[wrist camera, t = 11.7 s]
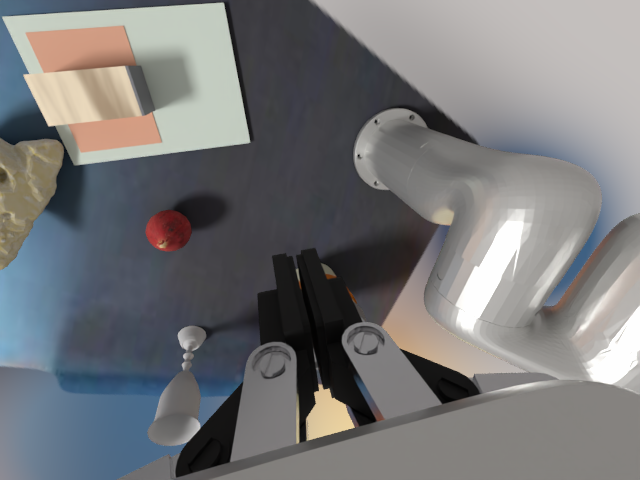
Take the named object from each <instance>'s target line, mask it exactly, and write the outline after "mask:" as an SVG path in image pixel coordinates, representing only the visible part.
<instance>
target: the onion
mask: <svg viewBox="0 0 640 480" xmlns="http://www.w3.org/2000/svg"><path fill="white" fill-rule="evenodd" d="M146 236H147V238H148V240H149V242H150V243H151V244H152V245H153V246H154V247H156V248H157V249H159V250H163V251H176V250H178V249H180V248H182V247H183V246H185V244H186V243H187V242H188V241H189V239H190V236H191V225H190V222H189V221H188V219H187V218H186V216H184V215H183V214H181V213H179V212H177V211H172V210H166V211H161V212H159V213H157V214H156V215H154V216H152V217H151V219H150V220H149V222H148V224H147V228H146Z"/></svg>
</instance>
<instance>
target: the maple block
mask: <svg viewBox="0 0 640 480" xmlns="http://www.w3.org/2000/svg"><path fill="white" fill-rule="evenodd" d="M23 76H24V78H25V80H26V82H27V84H28V86H29V88H30V90H31V92H32V94H33V96H34V98H35V100H36V102H37V104H38V106H39V108H40V110H41V112H42V114H43V116H44V118H45V120H46V122H47V124H48V126H56V125H65V124H74V123H83V122H92V121H101V120H110V119H119V118H128V117H137V116H145V115H147V114H149V113H151V112H153V111H155V107H154V104H153V101H152V98H151V95H150V92H149V89H148V86H147V83H146V80H145V76H144V73H143V70H142V67H141V66H118V67H106V68H95V69H84V70H72V71H61V72H50V73H39V74H27V75H23Z"/></svg>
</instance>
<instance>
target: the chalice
mask: <svg viewBox="0 0 640 480" xmlns="http://www.w3.org/2000/svg"><path fill="white" fill-rule="evenodd" d="M178 339H179V342H180V345H181V347H182V348H184V349H185V350H187V352H186V353H185V354H184V355H183V358H184V359H185V361H184V363H183V364H182V367H183V371H182V372H179V373H178V374H177V375H176V376H175V377H174V379H173V380H172V381H171V382H170V383H169V384H168V386H167V387H166V389H165V390H164V392H163V393H162V395H161V397H160V400H159V404H158V409H157V412H156V416H155V420H154V422H153V423H152V425H151V426H150V427H149V430H148V432H147V433H148V437H149V438H150V440H151V441H153V442H155V443H156V444H159V445H164V446H175V445H180V444H183V443H186V442H188V441H189V440H190V439H191V438H192V437H193V436H194V435H195V434H196V433H197V432H198V431H199V429H200V423H199V421H198V414H199V407H200V399H201V397H200V391H199V387H198V384H197V382H196V380H195V378H194V376H193V374H192V373H191V372H189V371H188V370H189V368H190V367H191V366H192V364H191V362H190V360H191V359H192V358H193V357H194V355H193V354H192V351H193V350H196V349H197V348H199V347H200V346H201V344H202V343H203V341H204V340H205V339H206V332H205V331H204V330H203V329H202V328H200V327H198V326H188V327H185V328H183V329H182V330H180V332H179V333H178Z"/></svg>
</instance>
